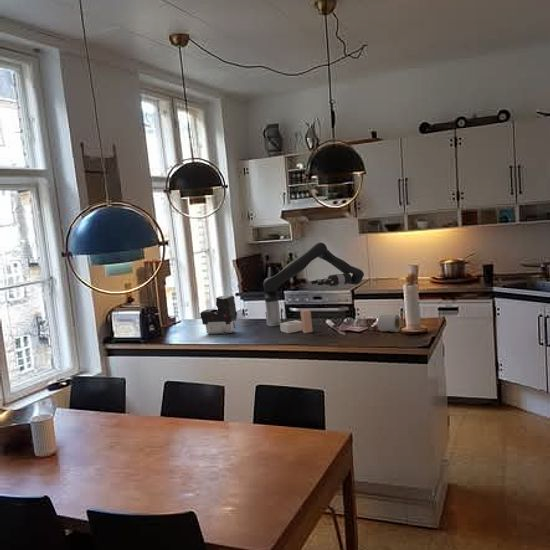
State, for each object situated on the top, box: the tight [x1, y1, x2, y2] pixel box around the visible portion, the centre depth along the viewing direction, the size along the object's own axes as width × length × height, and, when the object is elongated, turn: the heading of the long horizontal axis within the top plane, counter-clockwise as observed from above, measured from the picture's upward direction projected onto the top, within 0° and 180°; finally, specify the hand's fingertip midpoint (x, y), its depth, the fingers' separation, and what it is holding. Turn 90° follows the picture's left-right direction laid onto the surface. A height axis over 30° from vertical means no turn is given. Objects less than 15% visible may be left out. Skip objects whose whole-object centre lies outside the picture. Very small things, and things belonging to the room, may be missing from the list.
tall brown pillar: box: [300, 309, 314, 334], centre depth 347 cm, size 5×4×14 cm
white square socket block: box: [279, 319, 302, 334], centre depth 357 cm, size 12×10×6 cm
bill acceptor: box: [199, 294, 238, 335], centre depth 375 cm, size 10×23×25 cm, turn 70°
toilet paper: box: [377, 314, 402, 333], centre depth 330 cm, size 10×10×10 cm
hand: (314, 283), depth 359 cm, fingers open, 8 cm apart
